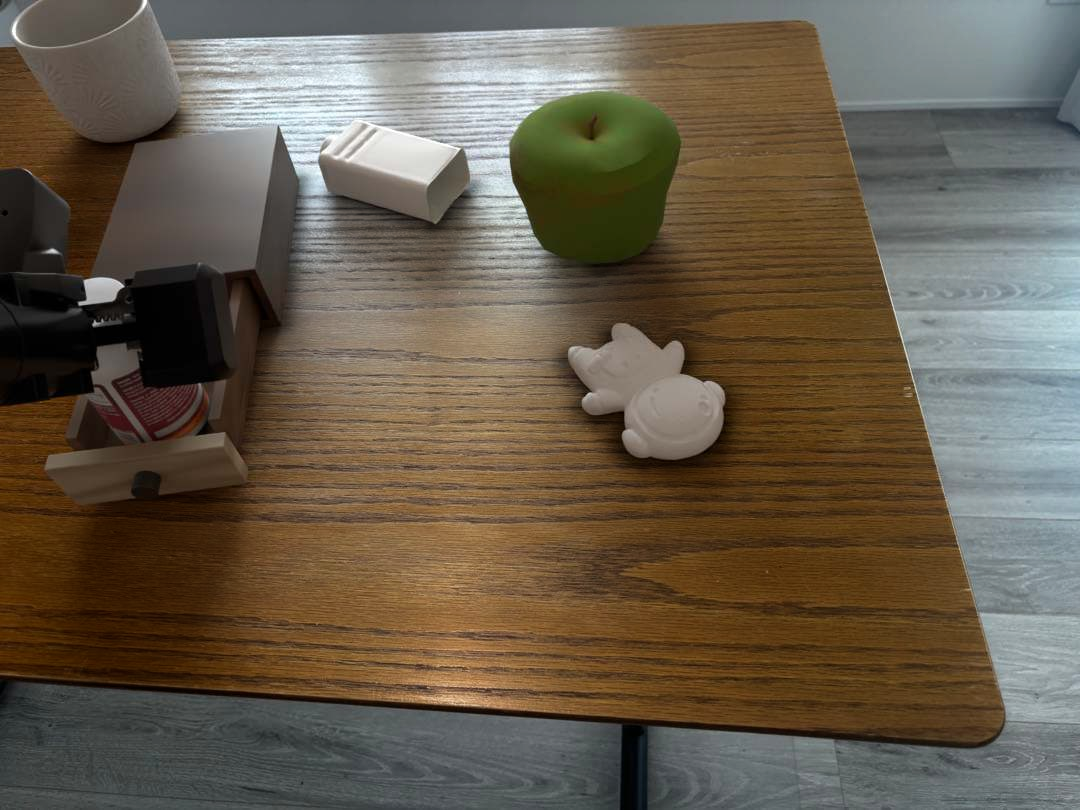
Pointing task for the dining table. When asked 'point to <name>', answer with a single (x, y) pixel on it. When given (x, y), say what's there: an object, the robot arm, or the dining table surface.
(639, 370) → the white cartoon figurine
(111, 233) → the cabinet
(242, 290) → the drawer
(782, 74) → the dining table surface
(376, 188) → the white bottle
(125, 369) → the pill bottle
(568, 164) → the apple
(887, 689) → the dining table surface
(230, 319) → the robot arm
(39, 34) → the planter
